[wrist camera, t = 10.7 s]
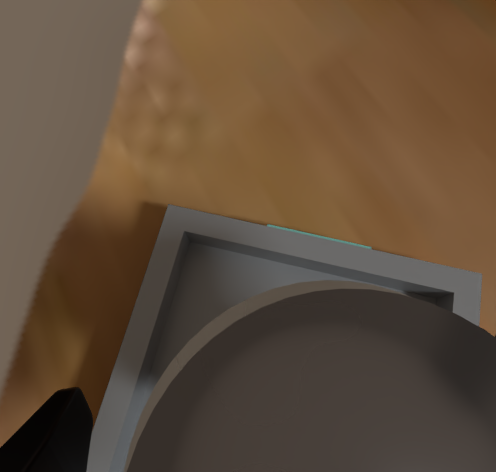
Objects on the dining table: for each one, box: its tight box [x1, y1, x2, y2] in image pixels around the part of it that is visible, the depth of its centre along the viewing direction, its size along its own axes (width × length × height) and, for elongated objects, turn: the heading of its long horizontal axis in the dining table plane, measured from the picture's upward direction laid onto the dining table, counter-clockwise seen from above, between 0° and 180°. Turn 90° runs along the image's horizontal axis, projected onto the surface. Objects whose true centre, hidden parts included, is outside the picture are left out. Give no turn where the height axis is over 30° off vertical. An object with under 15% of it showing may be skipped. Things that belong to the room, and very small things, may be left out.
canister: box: [124, 280, 496, 472], centre depth 9 cm, size 5×5×13 cm
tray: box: [86, 204, 482, 472], centre depth 15 cm, size 13×13×2 cm
